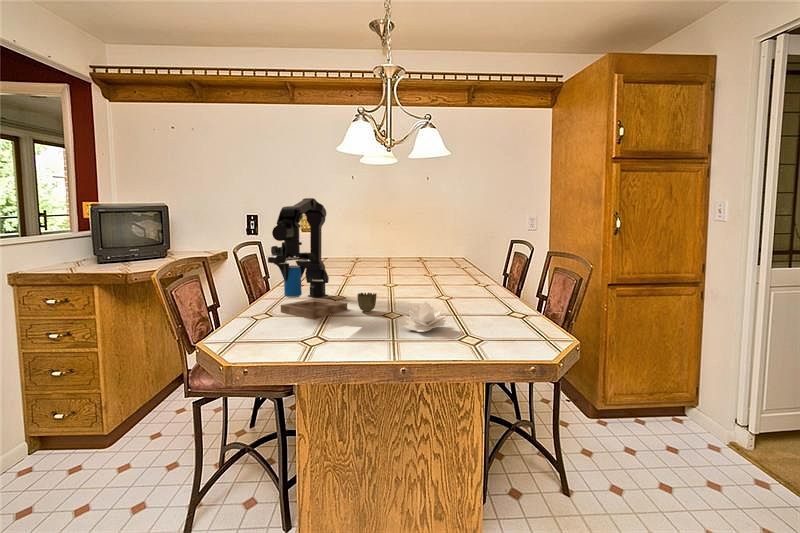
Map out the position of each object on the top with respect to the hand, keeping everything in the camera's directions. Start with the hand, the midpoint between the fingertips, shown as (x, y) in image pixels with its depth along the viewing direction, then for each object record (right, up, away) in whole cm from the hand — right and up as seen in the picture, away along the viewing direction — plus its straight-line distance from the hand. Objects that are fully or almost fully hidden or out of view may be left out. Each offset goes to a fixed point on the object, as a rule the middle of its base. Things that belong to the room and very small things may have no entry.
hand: (292, 279), depth 172 cm
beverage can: (0, -7, +1) cm, 7 cm away
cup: (+29, -13, -2) cm, 32 cm away
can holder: (+8, -13, +1) cm, 15 cm away
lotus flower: (+50, -16, -23) cm, 57 cm away
